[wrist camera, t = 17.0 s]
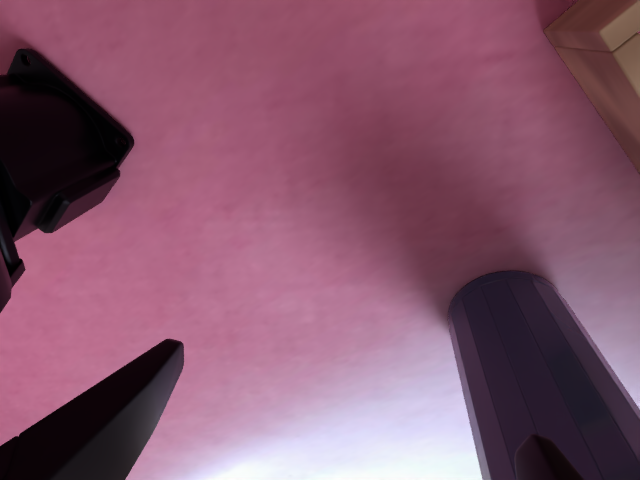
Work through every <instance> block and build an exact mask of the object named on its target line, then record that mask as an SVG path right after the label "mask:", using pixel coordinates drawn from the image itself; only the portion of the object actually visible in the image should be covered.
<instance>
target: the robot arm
mask: <svg viewBox="0 0 640 480" xmlns="http://www.w3.org/2000/svg"><path fill="white" fill-rule="evenodd" d="M27 56H28V57H29V59H30V61H31V63H29V61H28V59H27ZM121 138H123V139H124V141H125V144H123V143H122V141H121ZM133 146H134V140H133V137H132V136H131V135H130V134H129V133H128V132H127V131H126V130H125V129H124V128H123V127H121V126H120V125H119V124H118V123H117V122H116V121H115V120H113V119H112V118H111V117H110V116H109V115H108V114H106V113H105V112H104V111H103V110H102V109H101V108H100V107H98V106H97V105H96V104H95V103H94V102H93V101H92V100H90V99H89V98H88V97H87V96H86V95H85V94H84V93H82V92H81V91H80V90H79V89H78V88H77V87H76V86H74V85H73V84H72V83H71V82H70V81H69V80H68V79H66V78H65V77H64V76H63V75H62V74H61V73H60V72H58V71H57V70H56V69H55V68H54V67H53V66H52V65H50V64H49V63H48V62H47V61H46V60H45V59H43V58H42V57H41V56H40V55H39V54H38V53H37V52H35V51H34V50H32V49H29V48H26V49H19V50H17V52H16V54H15V56H14V59H13V61H12V64H11V66H10V68H9V71H8V73H7V74H6V75H0V313H1V311H2V310H3V308H4V307H5V305H6V304H7V302H8V301H9V299H10V298H11V289H12V287H13V286H14V285H15V283H16V282H17V281H18V279H19V278H20V277H21V275H22V274H23V273H24V271H25V266H24V263H23V260H22V259H20V258H19V256H18V253H17V249H16V246H15V243H14V242H15V241H17V240H19V239H20V238H22V237H24V236H25V235H27V234H29V233H31V232H32V231H34V230H36V229H40V230H41V231H43V232H44V233H53V232H54V231H56V230H58V229H59V228H61V227H62V226H64V225H66V224H67V223H69V222H70V221H72V220H74V219H75V218H77V217H79V216H80V215H82V214H83V213H85V212H87V211H88V210H90V209H91V208H93V207H95V206H96V205H98V204H100V203H101V202H102V201H103V200H104V198H105V197H106V196H107V194H108V193H109V191H110V190H111V188H112V187H113V186H114V184H115V183H116V181H117V180H118V178H119V177H120V170H118V168H119V167H120V165H121V164H122V162H123V161H124V159H125V158H126V156H127V155H128V153H129V152H130V151H131V149H132V148H133ZM183 365H184V345H183V343H182V342H181V341H177V340H173V339H166V340H164V341H162V342H161V343H159V344H158V345H156V346H155V347H153V348H151V349H150V350H148V351H147V352H145V353H144V354H142V355H141V356H139V357H138V358H136V359H134V360H133V361H131V362H130V363H128V364H127V365H125V366H124V367H122V368H121V369H119V370H117V371H116V372H114V373H113V374H111V375H110V376H108V377H107V378H105V379H104V380H102V381H100V382H99V383H97V384H96V385H94V386H93V387H91V388H90V389H88V390H87V391H85V392H83V393H82V394H80V395H79V396H77V397H76V398H74V399H73V400H71V401H70V402H68V403H66V404H65V405H63V406H62V407H60V408H59V409H57V410H56V411H54V412H53V413H51V414H49V415H48V416H46V417H45V418H43V419H42V420H40V421H39V422H37V423H36V424H34V425H32V426H31V427H29V428H28V429H26V430H25V431H23V432H22V433H20V435H19V437H18V436H15V437H14V438H12V439H11V440H9V441H7V442H6V443H4V444H3V445H1V446H0V480H125V479H126V477H127V476H128V474H129V472H130V471H131V469H132V467H133V466H134V464H135V462H136V460H137V459H138V457H139V455H140V454H141V452H142V450H143V449H144V447H145V445H146V444H147V442H148V440H149V439H150V437H151V435H152V433H153V431H154V430H155V428H156V426H157V424H158V422H159V419H160V417H161V415H162V413H163V411H164V409H165V407H166V404H167V402H168V400H169V398H170V396H171V394H172V391H173V389H174V387H175V385H176V383H177V381H178V378H179V376H180V374H181V372H182V369H183ZM515 470H516V479H517V480H584V479H583V477H582V476H581V475H580V474H579V473H578V471H577V470H576V469H575V468H574V467H573V465H572V464H571V463H570V462H569V460H568V459H567V458H566V457H565V456H564V454H563V453H562V452H561V451H560V450H559V448H558V447H557V446H556V445H555V443H554V442H553V441H552V440H551V439H549V438H547V437H544V436H540V435H536V434H531V435H529V436H528V437H527V438H526V440H525V441H524V442H523V443H522V444H521V446H520V447H519V448H518V449H517V450H516V453H515Z"/></svg>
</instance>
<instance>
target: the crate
mask: <svg viewBox="0 0 640 480" xmlns="http://www.w3.org/2000/svg"><path fill="white" fill-rule="evenodd" d="M638 31H640V0H578V1H577V2H576V3H575V4H574V5H573V6H571V7H570V8H569V9H568V10H567V11H566V12H564V13H563V14H562V15H561V16H560V17H558V18H557V19H556V20H555V21H554V22H553V23H551V24H550V25H549V26H548V27H547V28H546V29H544V31H543V32H544V34H545V35H546V37H547V38H548V39H549V41H550V42H551V44H552V45H553V46H555V49H556V51H557V52H558V54H559V55H560V57H561V58H562V60H563V61H564V63H565V64H566V66H567V67H568V69H569V70H570V72H571V73H572V75H573V76H574V78H575V79H576V81H577V82H578V83H579V85H580V86H581V88H582V89H583V91H584V92H585V94H586V95H587V97H588V98H589V100H590V101H591V103H592V104H593V106H594V107H595V109H596V110H597V112H598V113H599V115H600V116H601V117H602V119H603V120H604V122H605V123H606V125H607V126H608V128H609V129H610V131H611V132H612V134H613V135H614V137H615V138H616V140H617V141H618V143H619V144H620V146H621V147H622V149H623V150H624V151H625V153H626V154H627V156H628V157H629V159H630V160H631V162H632V163H633V165H634V166H635V168H636V169H637V171H638V172H639V174H640V34H639V33H637V32H638Z"/></svg>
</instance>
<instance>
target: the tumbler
mask: <svg viewBox="0 0 640 480" xmlns="http://www.w3.org/2000/svg"><path fill="white" fill-rule="evenodd" d="M448 324H449V332H450V336H451V341H452V345H453V350H454V354H455V359H456V363H457V368H458V372H459V376H460V381H461V385H462V390H463V394H464V399H465V403H466V408H467V412H468V417H469V421H470V426H471V430H472V435H473V439H474V443H475V448H476V452H477V457H478V461H479V466H480V470H481V475H482V479H483V480H517V479H516V470H515V453H516V450H517V449H518V448H519V447H520V446H521V444H522V443H523V442H524V441H525V440H526V438H527V437H528V436H529V435H531V434H536V435H540V436H544V437H547V438H549V439H551V440H552V441H553V442H554V443H555V445H556V446H557V447H558V448H559V450H560V451H561V452H562V453H563V454H564V456H565V457H566V458H567V459H568V460H569V462H570V463H571V464H572V465H573V467H574V468H575V469H576V470H577V471H578V473H579V474H580V475H581V476H582V477H583V479H584V480H640V409H639V408H638V406H637V405H636V403H635V402H634V400H633V399H632V397H631V396H630V394H629V393H628V392H627V390H626V389H625V387H624V386H623V384H622V383H621V381H620V380H619V378H618V377H617V375H616V374H615V372H614V371H613V369H612V368H611V366H610V365H609V363H608V362H607V361H606V359H605V358H604V356H603V355H602V353H601V352H600V350H599V349H598V347H597V346H596V344H595V343H594V341H593V340H592V338H591V337H590V335H589V334H588V333H587V331H586V330H585V328H584V327H583V325H582V324H581V322H580V321H579V319H578V318H577V316H576V315H575V313H574V312H573V310H572V309H571V307H570V306H569V304H568V303H567V302H566V300H565V299H564V298H563V297H562V296H561V294H560V293H559V292H558V290H557V289H556V288H555V287H554V286H553V285H552V284H551V283H550V282H549V281H547V280H545V279H544V278H542V277H539V276H537V275H534V274H531V273H527V272H521V271H502V272H496V273H491V274H488V275H485V276H482V277H480V278H478V279H475V280H474V281H472V282H470V283H468V284H467V285H466V286H465V287H463V288H462V289H461V290H460V291H459V292H458V293H457V294H456V296H455V297H454V299H453V300H452V302H451V304H450V307H449V311H448Z"/></svg>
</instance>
